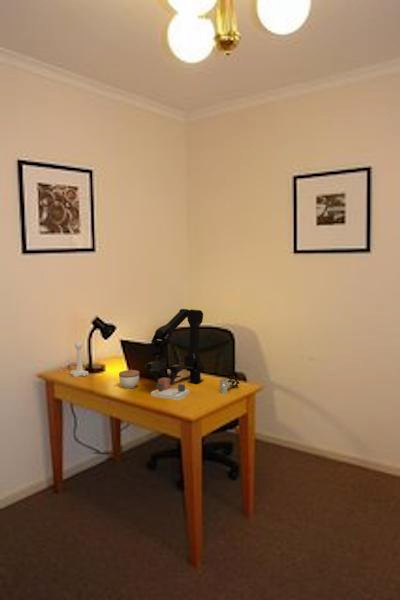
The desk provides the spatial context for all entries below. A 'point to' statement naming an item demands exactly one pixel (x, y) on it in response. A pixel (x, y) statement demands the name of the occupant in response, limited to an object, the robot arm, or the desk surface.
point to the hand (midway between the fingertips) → (164, 383)
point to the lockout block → (164, 382)
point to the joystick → (79, 362)
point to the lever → (181, 387)
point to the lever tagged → (159, 387)
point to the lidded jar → (129, 378)
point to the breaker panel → (170, 393)
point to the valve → (227, 384)
